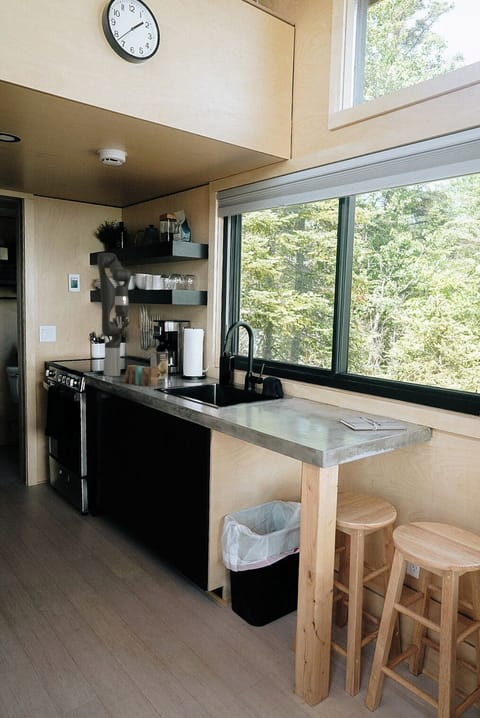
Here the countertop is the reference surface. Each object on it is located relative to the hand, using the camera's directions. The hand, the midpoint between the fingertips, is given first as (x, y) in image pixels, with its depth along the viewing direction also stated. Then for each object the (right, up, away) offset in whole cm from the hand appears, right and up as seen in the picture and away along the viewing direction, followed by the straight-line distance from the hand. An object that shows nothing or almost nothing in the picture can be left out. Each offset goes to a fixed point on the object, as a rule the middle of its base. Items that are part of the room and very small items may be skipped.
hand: (121, 334), depth 300 cm
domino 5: (+20, -29, -12) cm, 37 cm away
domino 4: (+16, -28, -9) cm, 34 cm away
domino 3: (+12, -28, -6) cm, 31 cm away
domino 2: (+8, -28, -3) cm, 29 cm away
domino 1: (+4, -27, 0) cm, 27 cm away
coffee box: (+18, -26, +21) cm, 38 cm away
